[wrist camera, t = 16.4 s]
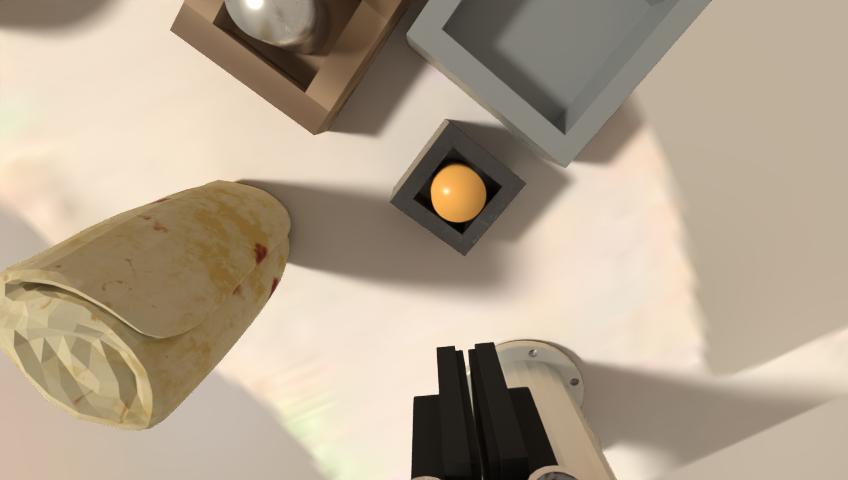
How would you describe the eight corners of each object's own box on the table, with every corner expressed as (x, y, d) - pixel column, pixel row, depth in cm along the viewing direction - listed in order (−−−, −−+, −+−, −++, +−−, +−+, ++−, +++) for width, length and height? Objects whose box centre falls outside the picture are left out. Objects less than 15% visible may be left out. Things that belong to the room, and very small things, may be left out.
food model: (191, 198, 33) (-105, 322, 15) (250, 153, 32) (11, 226, 13) (268, 284, 36) (102, 483, 17) (325, 246, 35) (214, 415, 16)
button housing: (511, 171, 33) (526, 183, 28) (458, 235, 35) (464, 256, 30) (445, 118, 32) (449, 121, 27) (394, 187, 33) (389, 202, 29)
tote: (674, 4, 29) (724, -15, 24) (544, 158, 33) (565, 168, 28) (533, -142, 26) (558, -195, 21) (408, 45, 30) (406, 34, 25)
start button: (486, 178, 32) (497, 190, 27) (457, 215, 33) (462, 232, 28) (449, 149, 31) (454, 157, 27) (420, 187, 32) (420, 201, 28)
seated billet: (342, 13, 28) (319, -14, 22) (310, 67, 29) (278, 57, 23) (289, -30, 27) (247, -72, 21) (257, 27, 28) (208, 5, 22)
